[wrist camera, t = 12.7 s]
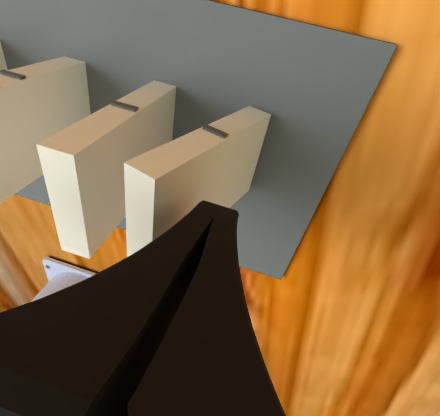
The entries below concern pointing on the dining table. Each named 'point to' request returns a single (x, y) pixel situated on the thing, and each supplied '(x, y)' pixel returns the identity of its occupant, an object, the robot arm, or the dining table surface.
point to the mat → (219, 90)
